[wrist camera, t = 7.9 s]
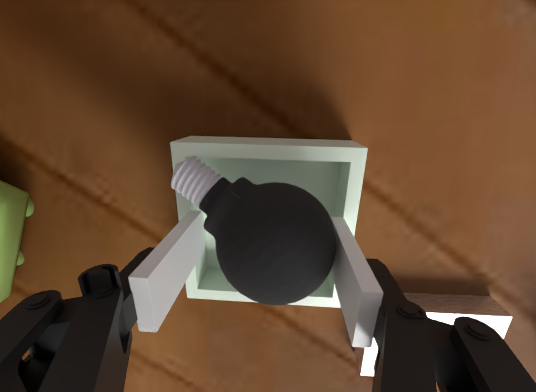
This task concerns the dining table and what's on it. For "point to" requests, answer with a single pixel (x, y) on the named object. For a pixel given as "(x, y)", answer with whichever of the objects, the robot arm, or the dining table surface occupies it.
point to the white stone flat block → (445, 318)
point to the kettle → (11, 233)
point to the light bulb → (262, 233)
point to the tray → (266, 171)
